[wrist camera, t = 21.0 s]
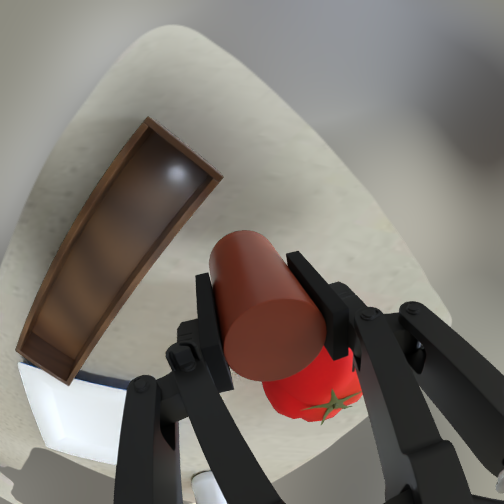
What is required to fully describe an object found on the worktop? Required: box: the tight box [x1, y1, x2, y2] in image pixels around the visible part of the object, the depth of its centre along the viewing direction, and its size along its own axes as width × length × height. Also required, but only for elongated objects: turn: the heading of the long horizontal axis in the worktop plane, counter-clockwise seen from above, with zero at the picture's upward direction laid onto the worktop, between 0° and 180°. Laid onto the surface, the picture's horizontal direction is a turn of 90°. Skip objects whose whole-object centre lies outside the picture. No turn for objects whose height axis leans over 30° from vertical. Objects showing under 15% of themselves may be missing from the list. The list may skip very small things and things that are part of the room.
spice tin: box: [209, 230, 327, 381], centre depth 17 cm, size 5×5×9 cm
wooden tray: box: [15, 116, 224, 386], centre depth 26 cm, size 29×8×4 cm, turn 138°
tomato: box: [262, 345, 363, 425], centre depth 32 cm, size 11×13×10 cm
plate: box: [17, 362, 127, 465], centre depth 35 cm, size 22×22×2 cm
